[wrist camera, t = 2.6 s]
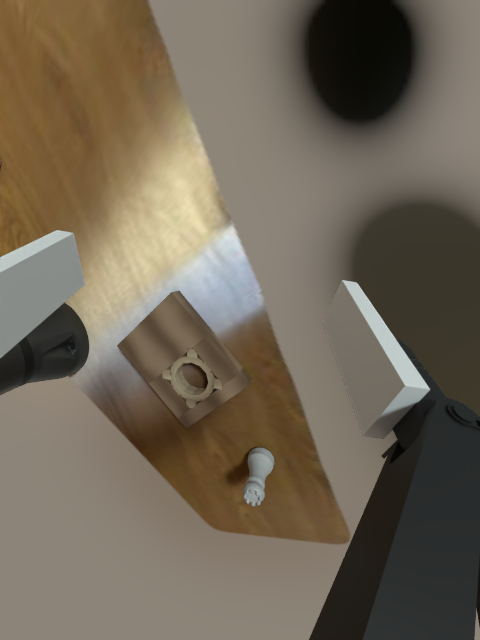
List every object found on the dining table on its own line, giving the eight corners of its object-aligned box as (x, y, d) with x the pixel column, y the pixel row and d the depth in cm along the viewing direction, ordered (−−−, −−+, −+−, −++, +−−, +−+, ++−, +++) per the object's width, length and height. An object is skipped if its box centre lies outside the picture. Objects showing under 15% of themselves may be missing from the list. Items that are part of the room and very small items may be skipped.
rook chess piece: (280, 462, 42) (274, 506, 35) (259, 472, 44) (249, 516, 36) (263, 441, 42) (254, 480, 35) (243, 452, 44) (230, 492, 36)
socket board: (192, 419, 45) (186, 428, 43) (127, 341, 45) (117, 345, 42) (251, 378, 40) (248, 385, 38) (179, 290, 40) (171, 292, 38)
